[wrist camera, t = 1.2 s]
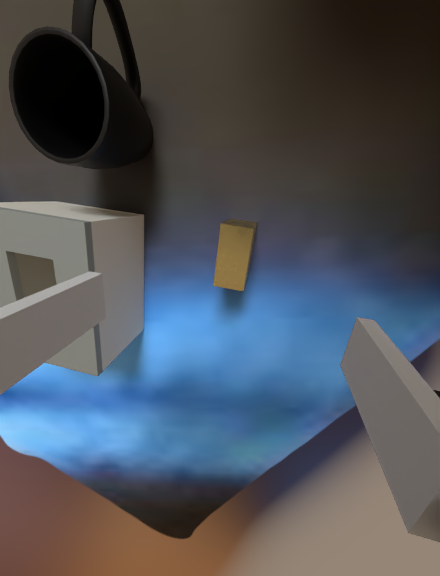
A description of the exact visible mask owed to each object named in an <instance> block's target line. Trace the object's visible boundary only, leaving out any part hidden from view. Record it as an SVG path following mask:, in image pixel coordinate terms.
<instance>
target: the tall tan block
mask: <svg viewBox="0 0 440 576" xmlns="http://www.w3.org/2000/svg"><path fill="white" fill-rule="evenodd" d="M257 223H258V222H251V221H244V220H238V219H229V220H227V221H225V222H223V223H221V226H220V235H219V243H218V252H217V260H216V268H215V277H214V285H213V286H218V287H223V288H228V289H234V290H239V291H244V288H245V284H246V281H247V278H248V274H249V269H250V264H251V258H252V252H253V246H254V241H255V235H256V229H257Z"/></svg>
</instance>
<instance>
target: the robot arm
mask: <svg viewBox="0 0 440 576" xmlns="http://www.w3.org/2000/svg"><path fill="white" fill-rule="evenodd" d="M105 318H106V311H105V300H104V288H103V277H102V273H96V272H91V271H89V272H87V273H84V274H82V275H79V276H77V277H74V278H72V279H70V280H67V281H65V282H62V283H60V284H57V285H55V286H52V287H50V288H47V289H45V290H43V291H40V292H38V293H35V294H33V295H30V296H28V297H25V298H23V299H20V300H18V301H15V302H13V303H11V304H8V305H6V306H3V307H1V308H0V395H1V394H2V393H3V392H5V391H6V390H7V389H9V388H10V387H12V386H13V385H14V384H16V383H17V382H18V381H20V380H21V379H23V378H24V377H25V376H27V375H28V374H29V373H31V372H32V371H34V370H35V369H36V368H38V367H39V366H40V365H42V364H43V363H45V362H46V361H47V360H49V359H50V358H51V357H53V356H54V355H56V354H57V353H58V352H60V351H61V350H62V349H64V348H65V347H67V346H68V345H69V344H71V343H72V342H73V341H75V340H76V339H78V338H79V337H80V336H82V335H83V334H84V333H86V332H87V331H89V330H90V329H91V328H93V327H94V326H95V325H97V324H98V323H100V322H101V321H102V320H104V319H105ZM340 366H341V368H342V371H343V373H344V376H345V378H346V381H347V383H348V386H349V388H350V391H351V393H352V395H353V398H354V400H355V403H356V405H357V408H358V410H359V413H360V415H361V418H362V420H363V422H364V425H365V427H366V430H367V432H368V435H369V437H370V440H371V442H372V445H373V447H374V450H375V452H376V454H377V457H378V459H379V462H380V464H381V467H382V469H383V472H384V474H385V477H386V479H387V481H388V484H389V487H390V489H391V491H392V494H393V496H394V499H395V501H396V503H397V506H398V509H399V511H400V514H401V516H402V518H403V521H404V523H405V526H406V528H407V530H408V533H411V534H414V535H417V536H421V537H424V538H428V539H431V540H434V541H438V542H440V391H436V390H432V388H431V387H430V386H429V385H428V384H427V382H426V381H425V380H424V379H423V378H422V376H421V375H420V374H419V373H418V372H417V370H416V369H415V368H414V367H413V366H412V364H411V363H410V362H409V361H408V360H407V358H406V357H405V356H404V355H403V354H402V352H401V351H400V350H399V349H398V348H397V346H396V345H395V344H394V343H393V342H392V340H391V339H390V338H389V337H388V336H387V334H386V333H385V332H384V331H383V330H382V328H381V327H380V326H379V325H378V324H377V323H376V321H375V320H370V319H364V318H358V317H357V319H356V321H355V324H354V327H353V330H352V333H351V336H350V338H349V341H348V344H347V347H346V350H345V353H344V355H343V358H342V361H341V364H340Z"/></svg>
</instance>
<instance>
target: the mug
mask: <svg viewBox="0 0 440 576" xmlns="http://www.w3.org/2000/svg"><path fill="white" fill-rule="evenodd" d="M103 1H104V3H105V6H106V8H107V11H108V13H109V16H110V19H111V22H112V25H113V28H114V31H115V34H116V37H117V41H118V44H119V47H120V51H121V55H122V59H123V63H124V68H125V74H126V82H125V80H124V79H123V78H122V76H121V75H120V74H119V73H118V72H117V71H116V70H115V69H114V67H113V66H111V65H110V64H109V63H108V62H107V61H106V60H104V59H103V58H102V57H101V56H100V55H98V54H97V53H96V52H95V51H94V50H92V26H93V16H94V9H95V4H96V0H74V4H73V15H72V33H70V32H68V31H66V30H63V29H61V28H55V27H43V28H38V29H35V30H33V31H32V32H30V33H29V34H27V35H26V36H25V37H24V38H23V39H22V41H21V42H20V43H19V44H18V46H17V48H16V50H15V53H14V55H13V57H12V61H11V66H10V70H9V90H10V98H11V103H12V107H13V110H14V114H15V116H16V119H17V121H18V123H19V125H20V128H21V129H22V131H23V132H24V134H25V136H26V137H27V139H28V140H29V141H30V142H31V143H32V145H33V146H34V147H35V148H36V149H37V150H38V151H39V152H41V153H42V154H43V155H45V156H46V157H47V158H49V159H51V160H53V161H56V162H58V163H61V164H66V165H72V166H78V167H84V168H91V169H108V168H117V167H121V166H125V165H127V164H130V163H133V162H137V161H139V160H141V159H143V158H144V157H145V156H146V155H147V153H148V152H149V150H150V148H151V145H152V141H153V130H152V125H151V122H150V119H149V117H148V115H147V114H146V113H145V111H144V109H143V107H142V105H141V103H140V97H141V82H140V76H139V71H138V66H137V62H136V58H135V53H134V49H133V45H132V41H131V37H130V34H129V30H128V26H127V22H126V19H125V15H124V12H123V9H122V6H121V3H120V1H119V0H103Z"/></svg>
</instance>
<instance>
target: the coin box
mask: <svg viewBox="0 0 440 576" xmlns="http://www.w3.org/2000/svg"><path fill="white" fill-rule="evenodd" d="M89 271H91V272H96V273H102V277H103V288H104V300H105V311H106V318H105V319H104V320H102V321H101V322H100V323H98V324H97V325H95V326H94V327H93V328H91V329H90V330H89V331H87V332H86V333H84V334H83V335H82V336H80V337H79V338H78V339H76V340H75V341H73V342H72V343H71V344H69V345H68V346H67V347H65V348H64V349H62V350H61V351H60V352H58V353H57V354H56V355H54V356H53V357H51V358H50V359H49V360H47V361H46V362H45V363H48V364H52V365H56V366H60V367H64V368H68V369H71V370H75V371H79V372H83V373H87V374H91V375H94V376H99V375H100V374H101V373H102V372H103V371H104V370H105V369H106V367H107V366H108V365H109V364H110V363H111V362H112V361H113V360H114V359H115V358H116V357H117V356H118V355H119V354H120V353H121V352H122V351H123V350H124V349H125V348H126V347H127V346H128V345H129V344H130V343H131V342H132V341H133V340H134V339H135V338H136V337H137V336H138V335H139V334H140V333H141V332H142V331H143V329H144V215H143V214H136V213H129V212H123V211H116V210H109V209H103V208H96V207H90V206H83V205H76V204H70V203H63V202H56V201H55V202H0V308H1V307H3V306H6V305H8V304H11V303H13V302H15V301H18V300H20V299H23V298H25V297H28V296H30V295H33V294H35V293H38V292H40V291H43V290H45V289H47V288H50V287H52V286H55V285H57V284H60V283H62V282H65V281H67V280H70V279H72V278H74V277H77V276H79V275H82V274H84V273H87V272H89Z"/></svg>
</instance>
